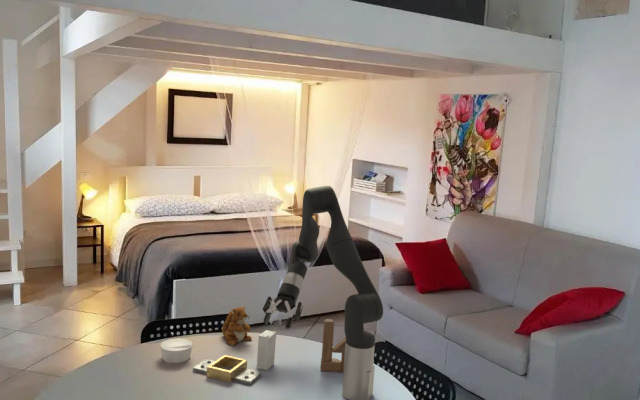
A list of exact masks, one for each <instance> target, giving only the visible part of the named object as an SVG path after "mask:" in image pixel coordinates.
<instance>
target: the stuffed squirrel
mask: <svg viewBox="0 0 640 400" xmlns="http://www.w3.org/2000/svg"><path fill="white" fill-rule="evenodd" d="M245 309H246V307H245V306H243V307H241V306H240V307H235V308H230V311H229V313H228V315H226V319H225V321H224V322H223V324H222V328H221V332H222V335H223V336H224V337H225V341H226V343H227V344H228V345H230V346H233V347H234V346H235V345H236V344H237V343H239V342H242V341H251V340H252V339H253V337H252V336H251V335H248V333H249V332H250V331H251V326H250V325H249V324H248V323H247V322H245V321H246V320H247V319H248V320H249V319H250V318H251V317H250V316H249V315H248V314H247V312H245V311H246V310H245Z"/></svg>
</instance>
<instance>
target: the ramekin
mask: <svg viewBox="0 0 640 400" xmlns="http://www.w3.org/2000/svg"><path fill="white" fill-rule="evenodd" d="M193 344H194V343H193V342H192V341H191V340H189V339H186V338H180V337H178V338H170V339H165V340H164V341H162V342H161V343H160V346H159V347H160V350H161V351H160V353H161V358H162V360H163V361H165V362H166V363H170V364H181V363H185V362H186V361H188V360H189V359H190V358H191V354H192V349H193Z"/></svg>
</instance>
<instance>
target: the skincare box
mask: <svg viewBox="0 0 640 400" xmlns="http://www.w3.org/2000/svg"><path fill="white" fill-rule="evenodd" d="M276 339H277V331H271V330H267V329H266V330H265V331H263V332H262V333H261V334H259V335H258V340H257V341H258V342H257V343H258V344H257V353H256V354H257V355H256V356H257V357H256V368H257V369H260V370H264V371H267V370H269V369H270V368H271V367H272V366H274V365H275V359H276V358H275V357H276V356H275V355H276V342H277V341H276Z"/></svg>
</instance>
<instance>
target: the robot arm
mask: <svg viewBox="0 0 640 400" xmlns="http://www.w3.org/2000/svg"><path fill="white" fill-rule="evenodd" d="M301 211H302V212H301V215H302V216H301V229H300V233H299V237H298V240H296V241H295V242H293V244H292V247H291V252H290V253H291V256H290V263H289V265H288V269H287V272H286V273H285V276H284V277H283V280H282V282H281V285H280V288H279V290H278V292H277V295H276V297H275V298H274V297H273V298H272V297H271V296H268V297H267V298H266V301H265V303H264V305H263V307H262V311H263V312H264V314H265V315H264V317H263V323H264V325H266V326H268V324H269V322H270V319H271V317H272V315H273V314H276V313H277V312H279V313H285V314H288V315H289V317H287V320H286V323H285V325H284V327H285V328H286V330H289V329H291V327H292V326H293V323H294V321H295V320H298V321H299V320H300V319H301V315H302V312H303V307H304V305H303V302H301V301H299V302H297V301H298V298H299V295H300V293H301V291H302V287H303V283H304V280H305V277H306V275H307V272H308V266H307V265H306V264H305V263H304V262H307V263H310V264H311V263H314V262H315V261H316V260H317V259H318V255H319V247H318V239H319V236H320V226H319V224H318V222H317V221H316V219H314V217H313V216H314V215H319V214H324V213H328V214H329V217H330V227H329V232H328V236H327V238H326V250H327V253H328V256H329V257H330V261H331V263H332V265H333V266H334V267H335V269H336V270H337V271H338V272H339V273H341V274H342V275H343V276H344V277H345V278H346V279H347V280H349V282H350V283H352V285H353V286H354V288H355V290H356V292H357V293H355V294H352V295H349V296H348V297H347V299H346V301H345V304H344V329H343V330H344V335H345V336H344V337H346V343H345V358H344V373H342V374H343V375H342V376H343V377H342V387H341V388H342V389H341V391H342V393H341V394H342V396H343V397H344V398H345V399H347V400H370V399H371V397H372V396H373V394H374V384H375V383H374V382H375V381H374V379H375V368H376V367H375V365H374V360H375V359H374V358H375V356H374V355H375V347H376V338H375V334H373V333H372V332H371V331H368V330H365V329H364V327H365V326H364V324H369V323H374V322H377V321H380V320H381V319H382V318H383V316H384V307H383V302H382V299H381V298H380V295H379V293H378V291H377V289H376V288H375V285H374V284H373V282H372V281H371V279H370V276H369V274H368V272H367V270H366V268H365V266H364V264H363V262H362V260H361V259H362V258H361V257H360V254H359V251H358V248H357V247H356V244H355V242H354V240H353V237H352V235H351V233H350V231H349V228H348V226H347V223H346V222H345V218H344V215H343V213H342V212H343V211H342V210H341V205H340V202H339V200H338V197H337V194H336V192H335V191H334V189H333V187H332V186H331V185H323V186H316V187H312V188H307V189H306V190H305V191H304V193H303V196H302V210H301ZM302 261H304V262H302ZM295 307H296V308H295ZM294 308H295V313H294V312H293V309H294Z"/></svg>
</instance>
